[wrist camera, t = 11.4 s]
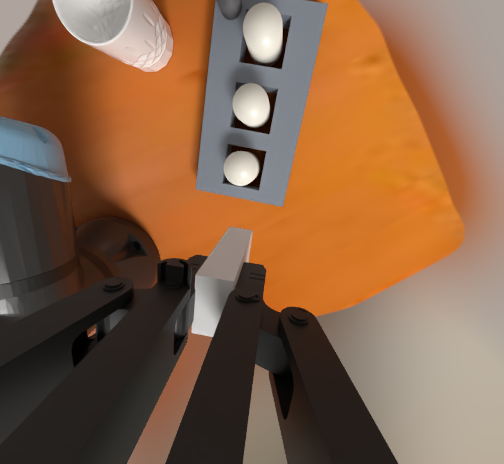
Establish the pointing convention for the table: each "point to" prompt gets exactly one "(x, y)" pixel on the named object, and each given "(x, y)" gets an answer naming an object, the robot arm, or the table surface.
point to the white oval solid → (252, 105)
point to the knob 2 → (264, 34)
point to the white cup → (120, 29)
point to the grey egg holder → (272, 81)
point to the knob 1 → (241, 167)
